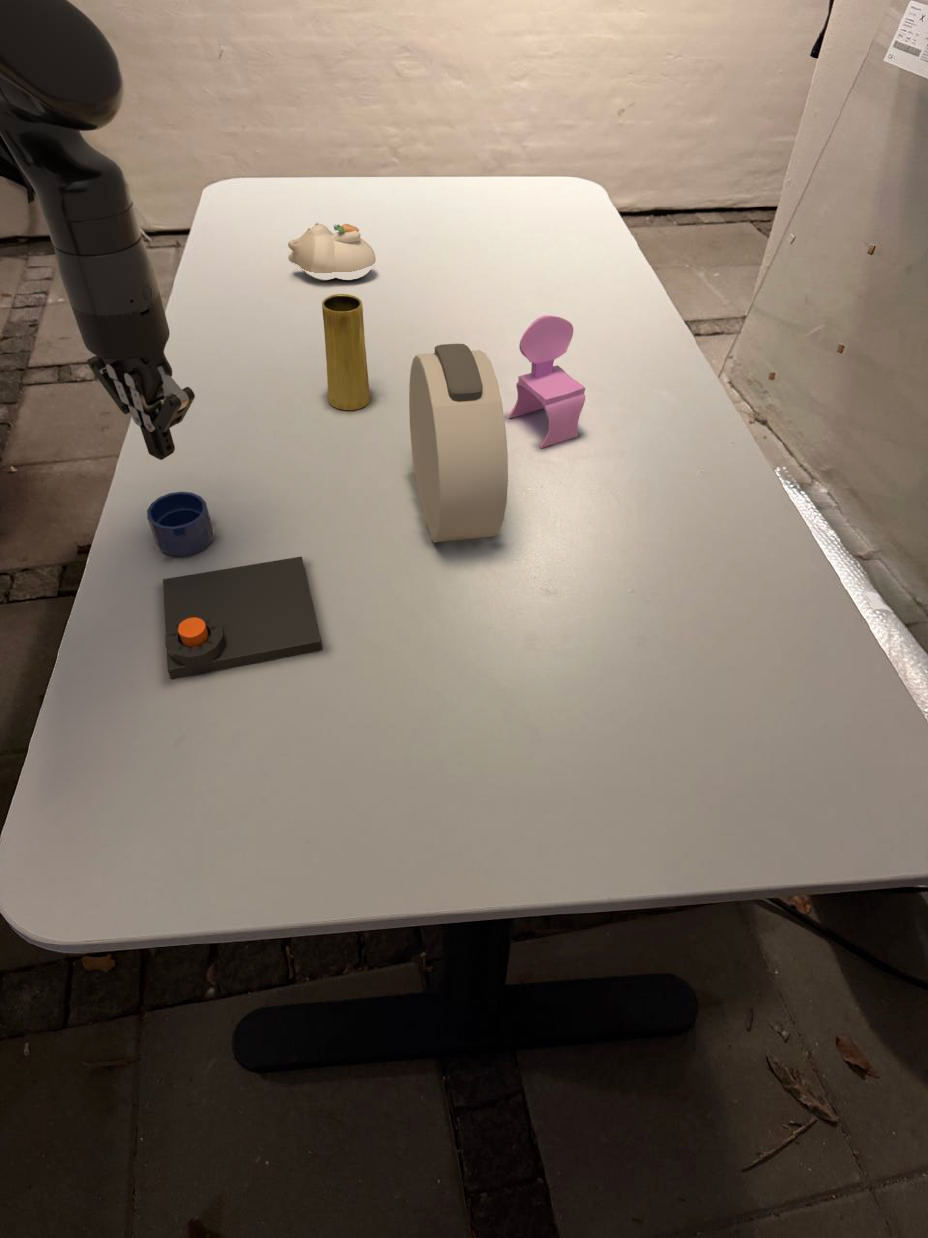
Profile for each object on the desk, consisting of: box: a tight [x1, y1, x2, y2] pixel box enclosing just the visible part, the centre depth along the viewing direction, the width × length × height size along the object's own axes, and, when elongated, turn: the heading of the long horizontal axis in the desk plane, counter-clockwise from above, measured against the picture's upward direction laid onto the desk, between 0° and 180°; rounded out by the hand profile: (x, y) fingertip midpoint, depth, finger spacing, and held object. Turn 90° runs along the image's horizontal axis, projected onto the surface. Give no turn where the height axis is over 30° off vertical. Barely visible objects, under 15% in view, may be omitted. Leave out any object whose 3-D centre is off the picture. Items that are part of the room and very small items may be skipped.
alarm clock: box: [408, 343, 509, 543], centre depth 89 cm, size 21×8×20 cm, turn 12°
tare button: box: [178, 618, 208, 647], centre depth 76 cm, size 3×3×2 cm
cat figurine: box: [287, 222, 376, 273], centre depth 134 cm, size 10×8×15 cm
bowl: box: [146, 491, 214, 557], centre depth 88 cm, size 6×6×4 cm
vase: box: [321, 293, 372, 411], centre depth 106 cm, size 6×6×14 cm
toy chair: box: [507, 315, 586, 449], centre depth 103 cm, size 8×9×15 cm
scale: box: [162, 556, 323, 679], centre depth 81 cm, size 15×13×3 cm
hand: (162, 453), depth 81 cm, fingers closed
